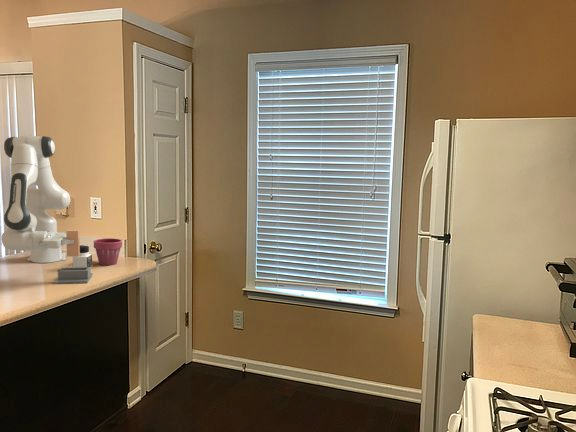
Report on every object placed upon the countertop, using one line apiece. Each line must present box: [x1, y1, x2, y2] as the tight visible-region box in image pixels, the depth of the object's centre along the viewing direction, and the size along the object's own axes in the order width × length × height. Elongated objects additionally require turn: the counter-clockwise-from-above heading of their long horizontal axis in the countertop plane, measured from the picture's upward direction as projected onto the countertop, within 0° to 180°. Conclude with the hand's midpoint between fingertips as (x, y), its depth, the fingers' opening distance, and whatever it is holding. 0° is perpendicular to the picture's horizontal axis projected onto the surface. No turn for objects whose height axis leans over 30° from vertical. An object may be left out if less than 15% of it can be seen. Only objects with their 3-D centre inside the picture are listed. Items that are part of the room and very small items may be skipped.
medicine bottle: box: [72, 244, 93, 268], centre depth 234 cm, size 7×7×12 cm
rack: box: [53, 266, 93, 285], centre depth 214 cm, size 14×14×5 cm
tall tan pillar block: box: [65, 229, 81, 258], centre depth 213 cm, size 3×5×12 cm, turn 104°
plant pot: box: [93, 237, 123, 266], centre depth 246 cm, size 14×14×13 cm
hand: (75, 240), depth 213 cm, fingers closed on tall tan pillar block, 3 cm apart
